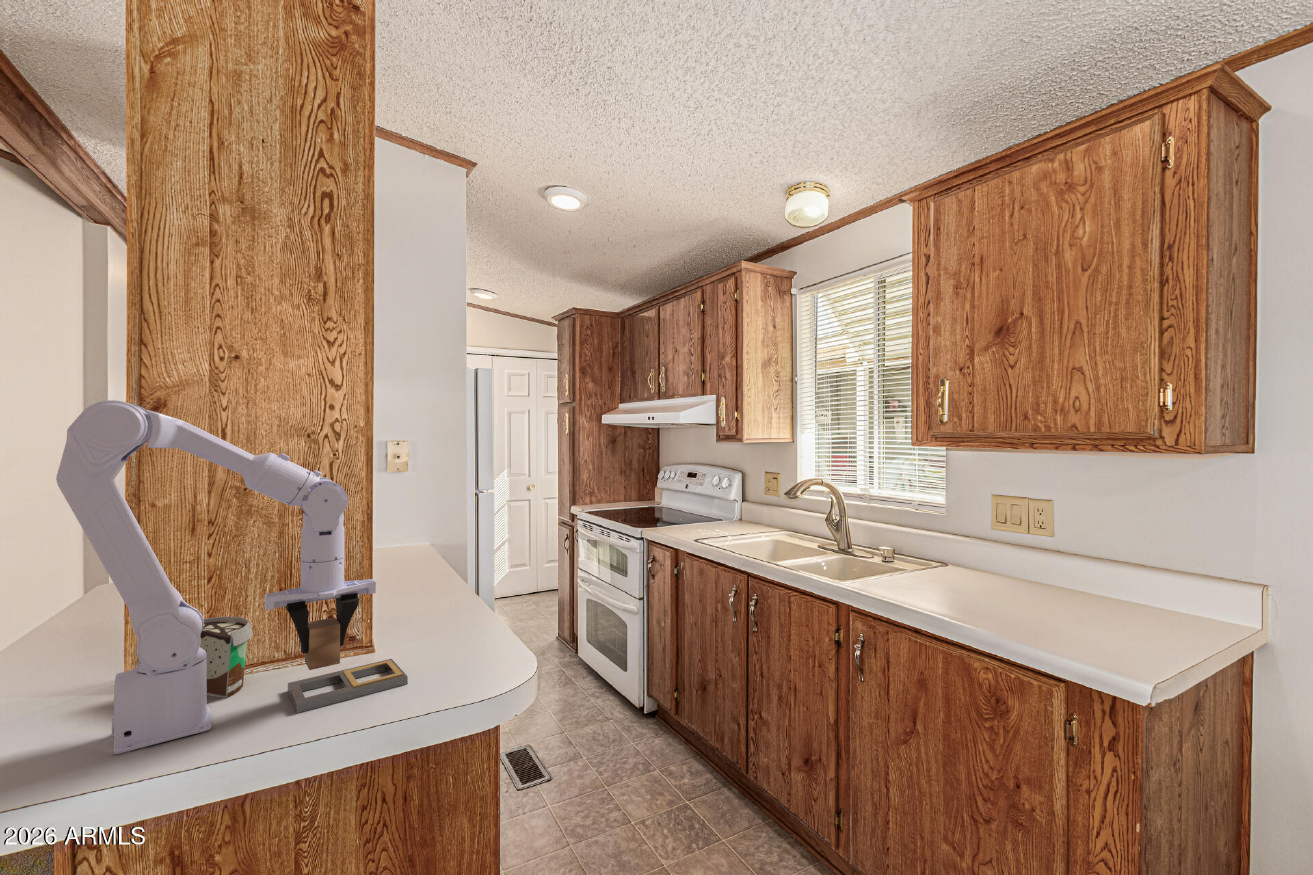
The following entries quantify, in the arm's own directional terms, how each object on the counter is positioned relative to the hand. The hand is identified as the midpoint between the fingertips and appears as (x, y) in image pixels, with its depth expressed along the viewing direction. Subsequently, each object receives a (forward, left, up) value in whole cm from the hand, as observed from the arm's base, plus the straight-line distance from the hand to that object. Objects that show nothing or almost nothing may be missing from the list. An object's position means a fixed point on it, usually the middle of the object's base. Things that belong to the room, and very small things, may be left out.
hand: (322, 647), depth 87 cm
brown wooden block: (0, 0, -2) cm, 2 cm away
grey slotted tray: (+4, 0, -7) cm, 8 cm away
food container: (-11, +13, -7) cm, 19 cm away
